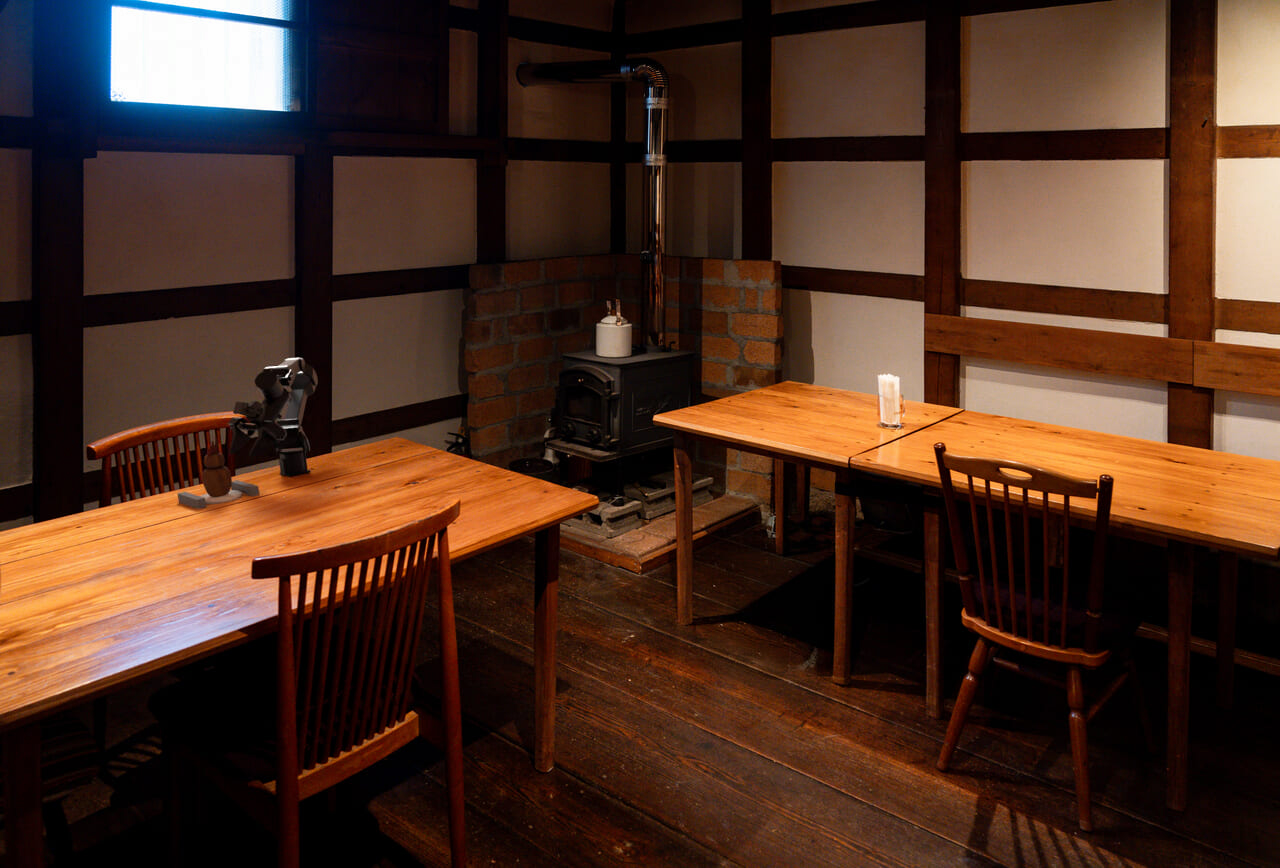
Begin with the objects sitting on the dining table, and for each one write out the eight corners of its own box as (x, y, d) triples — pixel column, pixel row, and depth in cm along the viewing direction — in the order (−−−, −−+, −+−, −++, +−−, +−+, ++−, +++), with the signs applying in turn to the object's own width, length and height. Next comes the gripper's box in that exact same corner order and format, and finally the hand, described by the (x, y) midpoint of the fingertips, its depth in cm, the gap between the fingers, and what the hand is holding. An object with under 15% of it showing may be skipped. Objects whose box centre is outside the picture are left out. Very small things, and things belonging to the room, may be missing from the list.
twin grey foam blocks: (238, 488, 265) (237, 480, 265) (259, 494, 257) (258, 485, 257) (178, 502, 254) (177, 493, 253) (198, 509, 246) (197, 499, 245)
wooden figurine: (226, 491, 260) (218, 435, 257) (237, 493, 256) (229, 437, 253) (201, 496, 255) (192, 440, 252) (212, 499, 251) (203, 442, 248)
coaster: (230, 491, 263) (230, 488, 263) (249, 496, 256) (248, 493, 255) (189, 500, 255) (188, 497, 255) (207, 506, 248) (207, 503, 248)
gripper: (229, 387, 266) (197, 435, 260) (270, 390, 255) (238, 440, 249) (259, 411, 274) (229, 458, 267) (300, 415, 263) (269, 464, 256)
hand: (240, 454), depth 260 cm, fingers open, 9 cm apart
